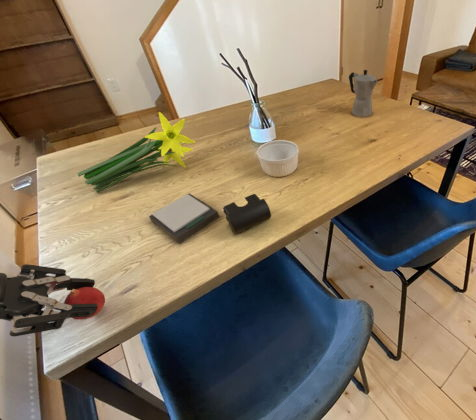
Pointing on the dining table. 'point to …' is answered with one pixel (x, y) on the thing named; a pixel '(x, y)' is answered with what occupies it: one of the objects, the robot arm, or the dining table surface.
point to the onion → (86, 298)
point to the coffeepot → (362, 93)
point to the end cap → (247, 213)
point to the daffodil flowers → (140, 155)
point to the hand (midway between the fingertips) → (94, 296)
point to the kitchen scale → (184, 217)
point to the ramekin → (278, 157)
